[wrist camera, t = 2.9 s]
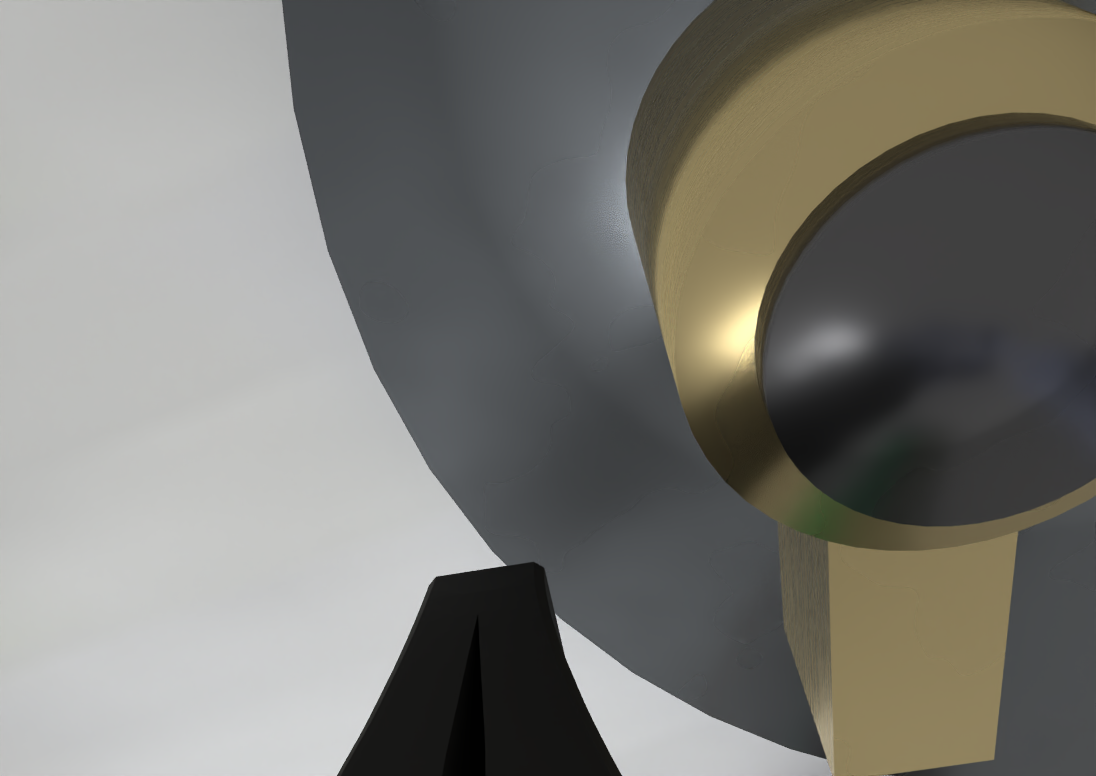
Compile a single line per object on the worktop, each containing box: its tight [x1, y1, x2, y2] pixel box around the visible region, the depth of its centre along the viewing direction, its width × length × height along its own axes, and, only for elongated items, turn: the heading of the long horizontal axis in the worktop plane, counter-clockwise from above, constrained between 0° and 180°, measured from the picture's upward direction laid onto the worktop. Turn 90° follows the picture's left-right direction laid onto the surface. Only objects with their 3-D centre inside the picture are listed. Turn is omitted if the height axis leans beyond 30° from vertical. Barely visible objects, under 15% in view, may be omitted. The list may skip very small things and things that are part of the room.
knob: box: [625, 0, 1096, 776], centre depth 10 cm, size 8×4×4 cm, turn 10°
